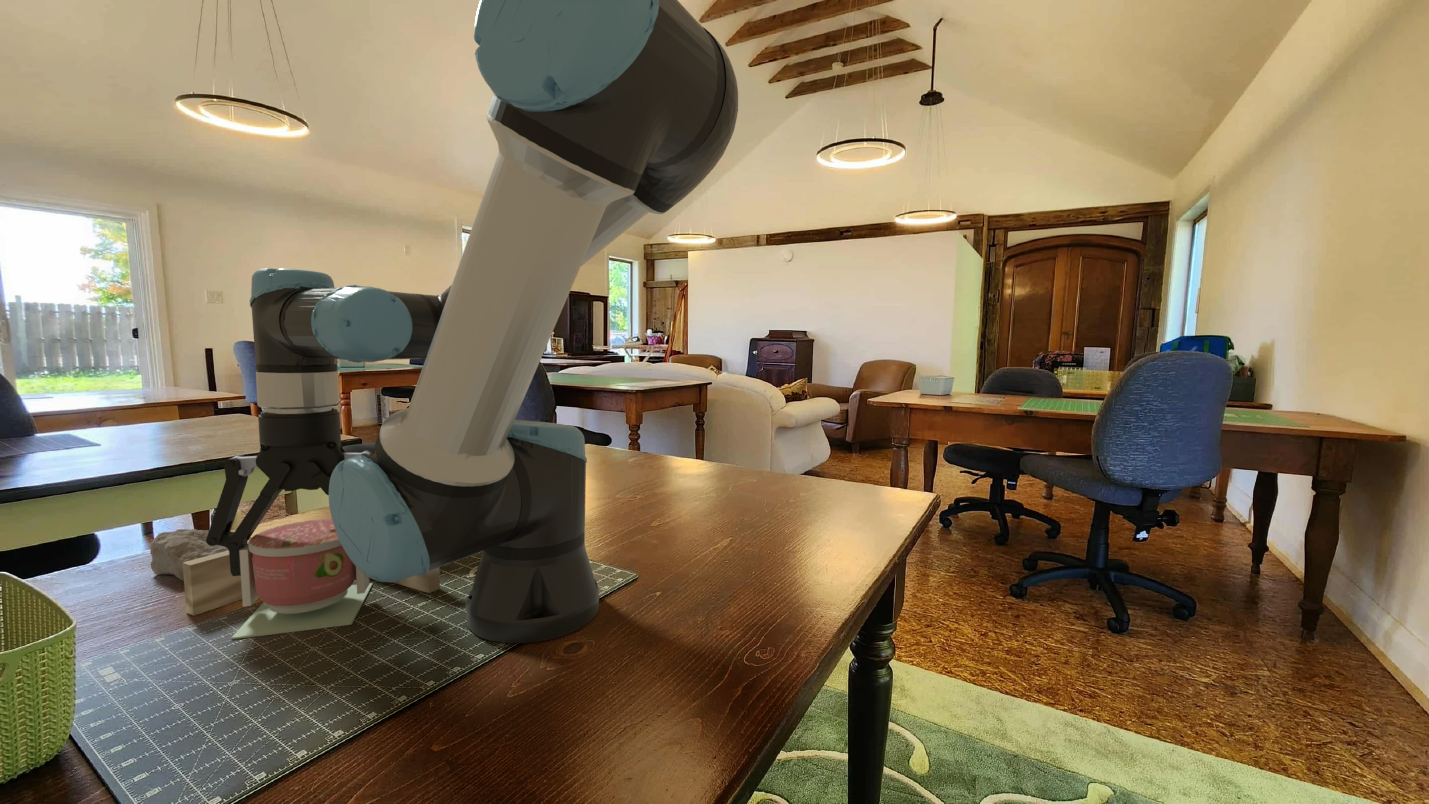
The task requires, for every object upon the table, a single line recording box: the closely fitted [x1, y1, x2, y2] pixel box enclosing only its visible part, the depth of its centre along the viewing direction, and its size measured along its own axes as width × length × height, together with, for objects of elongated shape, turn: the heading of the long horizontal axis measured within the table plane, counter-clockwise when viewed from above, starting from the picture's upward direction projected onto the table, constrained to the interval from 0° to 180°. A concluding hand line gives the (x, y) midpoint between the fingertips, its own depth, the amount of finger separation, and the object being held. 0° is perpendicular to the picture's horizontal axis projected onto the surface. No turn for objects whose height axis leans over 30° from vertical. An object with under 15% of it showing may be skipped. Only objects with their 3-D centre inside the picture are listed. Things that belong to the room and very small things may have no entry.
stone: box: [149, 528, 236, 582], centre depth 75 cm, size 8×10×6 cm
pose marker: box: [230, 582, 374, 640], centre depth 67 cm, size 11×11×1 cm
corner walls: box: [183, 550, 441, 617], centre depth 69 cm, size 20×18×6 cm
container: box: [247, 518, 356, 614], centre depth 66 cm, size 10×10×8 cm
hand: (309, 594), depth 67 cm, fingers closed on container, 10 cm apart
